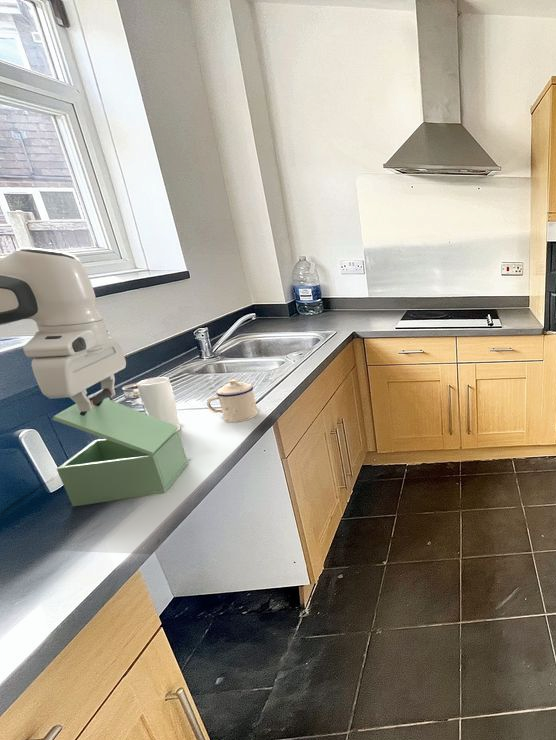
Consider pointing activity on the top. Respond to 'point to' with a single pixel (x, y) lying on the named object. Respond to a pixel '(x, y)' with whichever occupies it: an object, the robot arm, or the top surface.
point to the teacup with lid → (235, 401)
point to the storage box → (121, 471)
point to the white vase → (159, 399)
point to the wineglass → (133, 395)
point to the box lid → (118, 423)
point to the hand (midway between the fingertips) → (98, 403)
